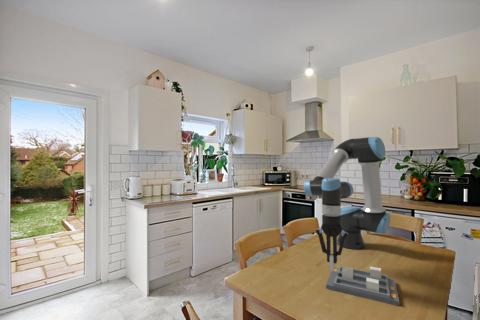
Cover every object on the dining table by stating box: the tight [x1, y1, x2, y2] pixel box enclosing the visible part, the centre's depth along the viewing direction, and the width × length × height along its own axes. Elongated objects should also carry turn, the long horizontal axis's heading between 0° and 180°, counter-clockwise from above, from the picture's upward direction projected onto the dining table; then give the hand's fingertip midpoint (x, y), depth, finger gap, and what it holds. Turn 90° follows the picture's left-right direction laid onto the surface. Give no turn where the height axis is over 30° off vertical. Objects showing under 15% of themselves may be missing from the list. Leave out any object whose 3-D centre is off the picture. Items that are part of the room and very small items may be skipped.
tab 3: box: [366, 278, 379, 292], centre depth 88 cm, size 3×4×4 cm
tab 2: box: [369, 265, 382, 279], centre depth 98 cm, size 3×4×4 cm
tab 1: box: [342, 266, 354, 279], centre depth 98 cm, size 3×4×4 cm
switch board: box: [325, 265, 400, 306], centre depth 95 cm, size 18×24×3 cm
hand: (332, 270), depth 101 cm, fingers closed
